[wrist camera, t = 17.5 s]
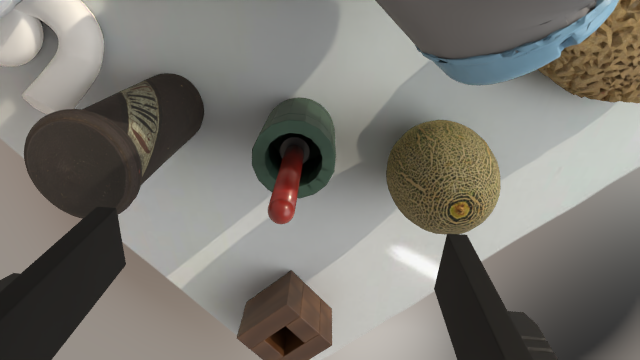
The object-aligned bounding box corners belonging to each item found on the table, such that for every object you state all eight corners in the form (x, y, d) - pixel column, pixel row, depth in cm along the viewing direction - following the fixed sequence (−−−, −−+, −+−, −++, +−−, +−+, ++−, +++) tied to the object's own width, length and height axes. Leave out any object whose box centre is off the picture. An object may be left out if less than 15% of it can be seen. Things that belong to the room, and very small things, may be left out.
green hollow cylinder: (252, 127, 49) (234, 156, 40) (303, 83, 46) (296, 102, 37) (297, 175, 51) (290, 212, 42) (347, 135, 49) (352, 165, 40)
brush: (280, 130, 48) (248, 214, 29) (300, 113, 47) (281, 188, 28) (298, 149, 49) (278, 243, 30) (318, 133, 48) (310, 219, 29)
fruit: (367, 126, 48) (382, 175, 35) (459, 93, 47) (514, 130, 33) (394, 205, 53) (418, 277, 39) (480, 178, 51) (536, 242, 37)
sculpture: (-11, -62, 41) (-84, -76, 34) (129, 18, 44) (90, 22, 37) (-33, 46, 45) (-102, 54, 38) (95, 112, 48) (54, 132, 41)
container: (216, 88, 47) (144, 141, 29) (196, 154, 50) (120, 241, 32) (143, 58, 46) (19, 95, 27) (127, 129, 49) (7, 203, 31)
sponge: (485, 52, 46) (636, 144, 46) (510, 39, 38) (692, 149, 38) (557, -56, 43) (716, 40, 43) (598, -94, 36) (793, 22, 35)
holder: (246, 302, 59) (236, 338, 53) (291, 270, 57) (286, 303, 51) (287, 337, 62) (282, 376, 56) (331, 308, 60) (332, 345, 53)
